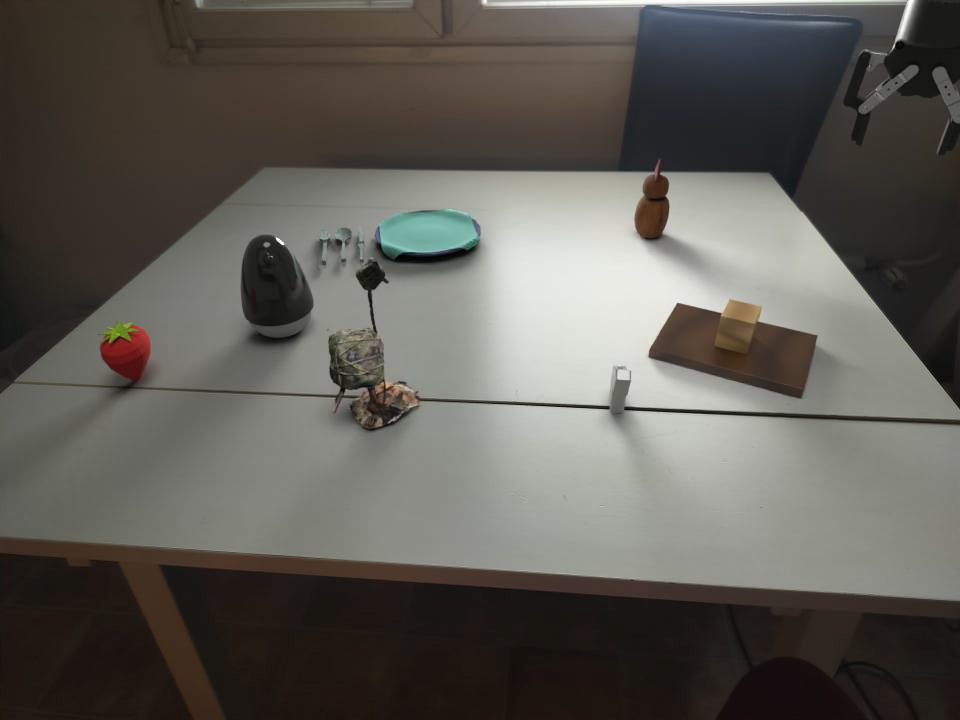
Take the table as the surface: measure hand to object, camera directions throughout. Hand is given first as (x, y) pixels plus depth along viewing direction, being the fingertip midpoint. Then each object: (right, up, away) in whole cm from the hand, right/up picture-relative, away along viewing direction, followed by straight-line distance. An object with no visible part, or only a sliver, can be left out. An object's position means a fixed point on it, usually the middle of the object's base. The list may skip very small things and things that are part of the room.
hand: (898, 149), depth 79 cm
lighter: (-32, -31, +6) cm, 45 cm away
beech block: (-14, -22, +15) cm, 30 cm away
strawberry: (-96, -28, +13) cm, 101 cm away
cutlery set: (-64, -3, +46) cm, 79 cm away
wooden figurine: (-17, -1, +47) cm, 50 cm away
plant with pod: (-63, -31, +7) cm, 70 cm away
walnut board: (-14, -24, +15) cm, 31 cm away
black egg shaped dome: (-79, -20, +23) cm, 85 cm away
